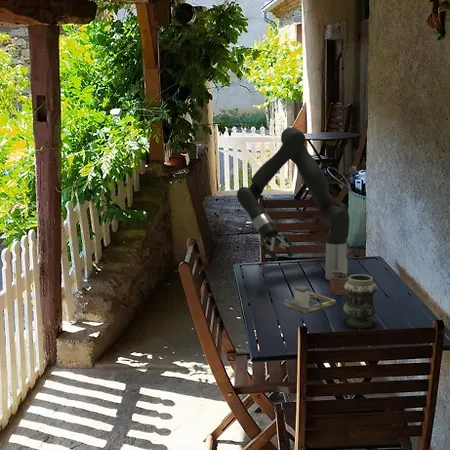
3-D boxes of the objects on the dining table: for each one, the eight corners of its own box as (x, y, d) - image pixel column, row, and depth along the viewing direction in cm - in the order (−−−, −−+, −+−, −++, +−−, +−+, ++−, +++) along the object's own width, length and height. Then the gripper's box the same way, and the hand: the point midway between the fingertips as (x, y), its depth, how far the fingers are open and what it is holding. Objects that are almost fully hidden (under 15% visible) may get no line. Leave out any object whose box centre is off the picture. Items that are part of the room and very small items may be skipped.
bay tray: (312, 295, 267) (312, 291, 266) (335, 303, 257) (335, 299, 256) (283, 304, 257) (283, 300, 256) (305, 313, 247) (305, 308, 246)
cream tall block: (302, 304, 257) (302, 285, 255) (309, 306, 254) (309, 287, 252) (295, 306, 255) (295, 287, 253) (301, 308, 252) (302, 289, 250)
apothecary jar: (371, 316, 241) (372, 271, 238) (379, 328, 230) (381, 281, 226) (339, 317, 241) (340, 272, 237) (347, 329, 229) (348, 282, 225)
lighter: (349, 293, 269) (349, 271, 267) (348, 295, 266) (348, 273, 264) (330, 291, 272) (330, 269, 269) (329, 294, 268) (329, 271, 266)
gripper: (256, 224, 260) (275, 256, 254) (281, 218, 269) (300, 249, 262) (248, 234, 266) (266, 266, 259) (273, 229, 274) (292, 259, 268)
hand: (283, 257), depth 261 cm, fingers open, 8 cm apart
